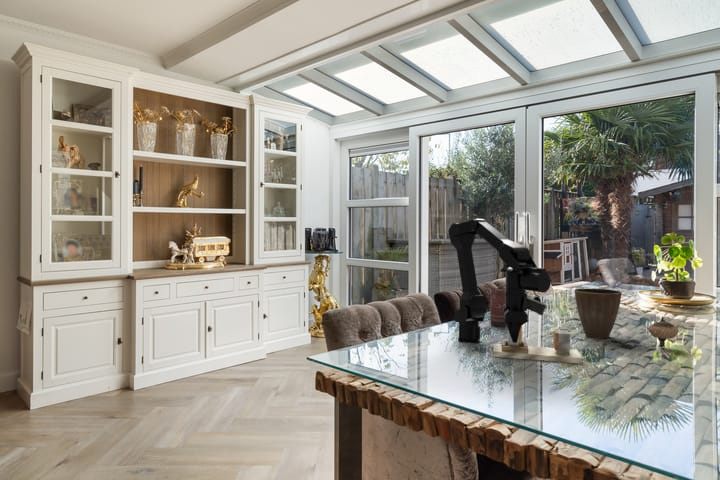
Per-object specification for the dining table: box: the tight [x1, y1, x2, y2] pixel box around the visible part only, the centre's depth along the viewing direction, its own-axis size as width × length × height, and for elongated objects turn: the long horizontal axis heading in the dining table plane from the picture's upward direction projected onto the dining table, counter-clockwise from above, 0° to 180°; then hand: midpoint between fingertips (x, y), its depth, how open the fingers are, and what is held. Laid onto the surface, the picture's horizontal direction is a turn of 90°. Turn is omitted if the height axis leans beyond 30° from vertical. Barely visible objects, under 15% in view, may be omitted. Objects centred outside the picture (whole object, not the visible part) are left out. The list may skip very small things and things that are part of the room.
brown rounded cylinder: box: [489, 288, 507, 327], centre depth 189 cm, size 6×6×14 cm
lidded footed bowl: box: [647, 316, 679, 349], centre depth 155 cm, size 8×8×10 cm
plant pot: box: [573, 288, 623, 339], centre depth 171 cm, size 15×15×16 cm
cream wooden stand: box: [492, 329, 584, 364], centre depth 144 cm, size 24×10×8 cm, turn 75°
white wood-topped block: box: [507, 325, 523, 347], centre depth 145 cm, size 4×5×6 cm
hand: (514, 340), depth 145 cm, fingers closed on white wood-topped block, 5 cm apart
